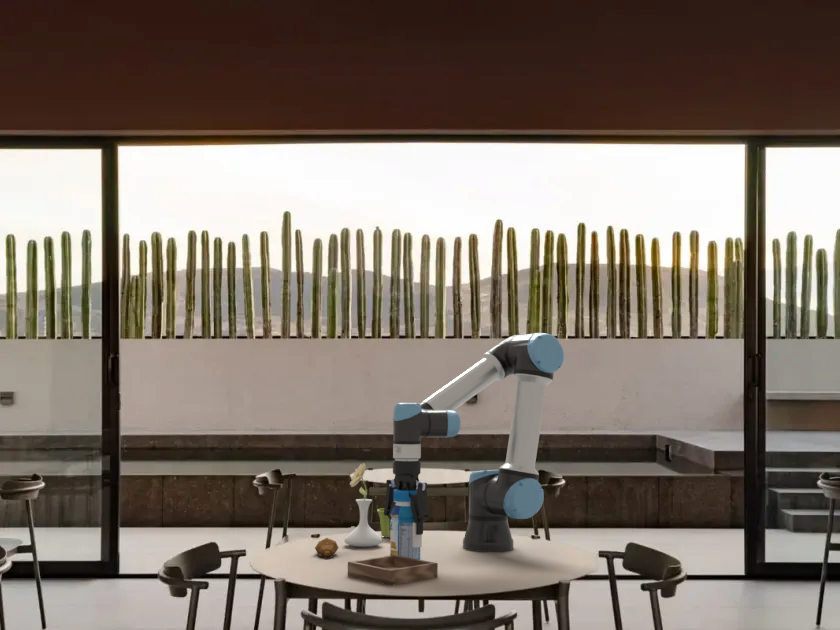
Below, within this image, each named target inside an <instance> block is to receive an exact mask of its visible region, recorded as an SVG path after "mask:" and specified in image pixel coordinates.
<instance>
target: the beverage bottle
mask: <svg viewBox="0 0 840 630" xmlns="http://www.w3.org/2000/svg"><path fill="white" fill-rule="evenodd" d="M409 492H410V493H411V494H412V495H416V494H417V490H415V491H403V490H396V489H395V490H394V495H393V498H394V502H396V504H395V506H394V507H393V509H392V511H391V518H392V520H391V522H390V529H391V535H390V537H389V538H390V542H389V543H390V544H389V545H390V546H389V547H390V552H389V553H390V555H398V556H403V557H408V558H413V559H419V560H421V547H415V548H414V547H412V533H413V521H415V519H414V516H413V512H412V508H411V505H410V502H411V498H410V497H409ZM390 555H389V556H390Z"/></svg>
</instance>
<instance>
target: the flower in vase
mask: <svg viewBox="0 0 840 630" xmlns="http://www.w3.org/2000/svg"><path fill="white" fill-rule="evenodd" d="M365 472H366V464H365V463H364V462H363V463H360V465H359V466H358V467H356V468H355V470H354V473H353V475H352V476H351V478H350V480H351V481H350V482H349V485H350V487H351V488H354V487H355V486H356V485H358V484H359V483H360V481H361V480H362V482H363V485H364V488H363V487H362V486H360V488H359V489H358V490H359V493H360V494H361V495H363V498H359V499H358V498H356V499H355V502H356V503H357V505H358V508H359V509H358V510H359V523H358V525H357V526H356V527H355V528H354V529H353V530H352V531H351V532H349V534H347V535H346V537H345V538H344V543H345V544H346V545H348V546H351V547H356V548H357V547H359V548H370V547H374V546H378V545H380V544H382V542H383V539H382V538H383V537H382V536H380V534H378V533H377V532H376V531H375V530H374V529H373V528H371V526H370V525H369V523H368V514H369V508H370V504H371V503H372V501H373V499H371V498H370V499H369V498H366V497H367V495H368V489H367V486H366V483H365V480H364V479H363V477H364V475H365Z"/></svg>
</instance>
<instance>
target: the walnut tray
mask: <svg viewBox="0 0 840 630" xmlns="http://www.w3.org/2000/svg"><path fill="white" fill-rule="evenodd" d="M438 565H439V564H438V562H433V561H428V560H425V559H424V560H422V559H420V560H419V559H413V558H408V557H403V556H398V555H385V556H384V555H383V556H378V557H372V558H366V559H358V560H351V561H347V577H351V578H354V579H358V580H359V579H360V580H364V581H368V582H371V583H372V582H373V583H376V584H377V583H378V584H382V585H386V586H390V587H391V586H396V585H401V584H408V583H413V582H419V581H424V580H430V579H435V578H438V567H439V566H438Z"/></svg>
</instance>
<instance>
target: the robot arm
mask: <svg viewBox="0 0 840 630" xmlns="http://www.w3.org/2000/svg"><path fill="white" fill-rule="evenodd" d="M562 346H563V345H562V344H561V343H560V341H559V340H558V338H557V337H556V336H554V335H552V334H551V333H546V332H545V333H544V332H535V333H525V334H523V333H522V334H515V335H512V336H508V337H506V338H505V339H504V340H502V341H500V342H499V343H497V344H496V345H495V346H493V347H491V348H490V349H489V350H487V351H486V352H485V353H483V354H482V356H481V360H479V361H478V362H476V363H475V364H473V365H472V366H470V367H469V368H468V369H467V370H465V371H463V372H462V373H461V374H459V375H458V376H457V377H455V378H454V379H453V380H451V381H450V382H448V383H447V384H445V385H444V386H442V387H441V388H440V389H438V390H437V391H436V392H434V393H433V394H431V395H430V396H428V397H427V398H425V400H423V401H421V402H397V403H395V405H394V408H393V417H392V421H393V423H392V424H393V429H392V430H393V431H392V432H393V439H392V440H393V444H392V445H393V446H392V452H393V453H392V454H393V455H392V459H394V460H393V461H392V474H394V478H393V479H392V478H391V479H386V481H385V483H386V491H385V501H384V507H383V508H384V515H385V516H388V518H389V529H390V522H391V520H392V518H391V511H392V509H393V507H394V506H395V504H396V502H394V498H393V495H394V490H395V489H396V490H403V491H415V490H417V494H416V495H412V494H411V493H410V492H409V497H410V498H411V502H410V505H411V508H412V512H413V516H414V519H415V521H413V533H412V547H414V548H415V547H420V548H421V547H422V546H423V545H422V543H423V542H422V541H423V539H422V536H423V534H424V523H425V522H426V521H429V520H430V511H429V502H428V495H427V493H428V492H427V490H428V483H427V482H421V481H420V480H419V475H420V474H421V465H422V463H421V461H420V459H421V457H422V456H421V455H422V453H421V452H422V449H421V448H422V447H421V446H422V445H421V444H422V442H421V441H422V438H446V439H447V438H451V437H455V436H457V435H458V434H459V432H460V429H461V417H460V415H459V413H458V412H457V411H456V410H457V409H458V408H459V407H461V406H462V405H464V404H466V402H468V401H469V400H471V399H472V398H473V397H475V396H477V394H479V393H481V391H483V390H484V389H486V388H487V387H489V386H490V385H491V384H493V383H494V382H496V381H499V382H501V381H503V380H504V379H505V378H508V377H509V376H511V375H513V377H514V379H515V380H516V382H517V384H516V391H515V398H514V405H513V411H512V416H511V424H510V431H509V436H508V444H507V449H506V450H507V451H506V457H505V462H504V464H502V465H501V466H499V469H490V470H489V469H487V470H475V471H472V472H471V473H470V474H469V480H468V523H467V525H466V529H465V534H464V537H463V539H462V548H463V549H465V550H469V551H477V552H505V551H506V552H507V551H511V550H514V539H513V537H512V534H511V533H512V532H511V529H510V525H509V522H508V518H512V519H516V520H518V519H519V520H520V519H521V520H525V519H530V518H532V517H533V516H534V515H536V514H538V512H539V511H540V510H541V508H542V505H543V504H544V499H545V497H544V496H545V492H544V489H543V488H542V484H541V483H540V482H539V476H540V475H539V474H540V473H539V471H538V470H537V469H536V462H537V461H536V459H537V453H538V448H539V443H540V442H539V440H540V434H541V428H542V419H543V413H544V406H545V399H546V392H547V387H548V386H549V385H550V384H552V383H553V381H554V380H553V379H554V373H555V372H557V371H558V370H559V369H560V368H561V367H562V366H563V363H564V359H565V353H564V349H563V347H562ZM388 510H389V511H388ZM390 530H391V529H390ZM390 535H391V533H390Z"/></svg>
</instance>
